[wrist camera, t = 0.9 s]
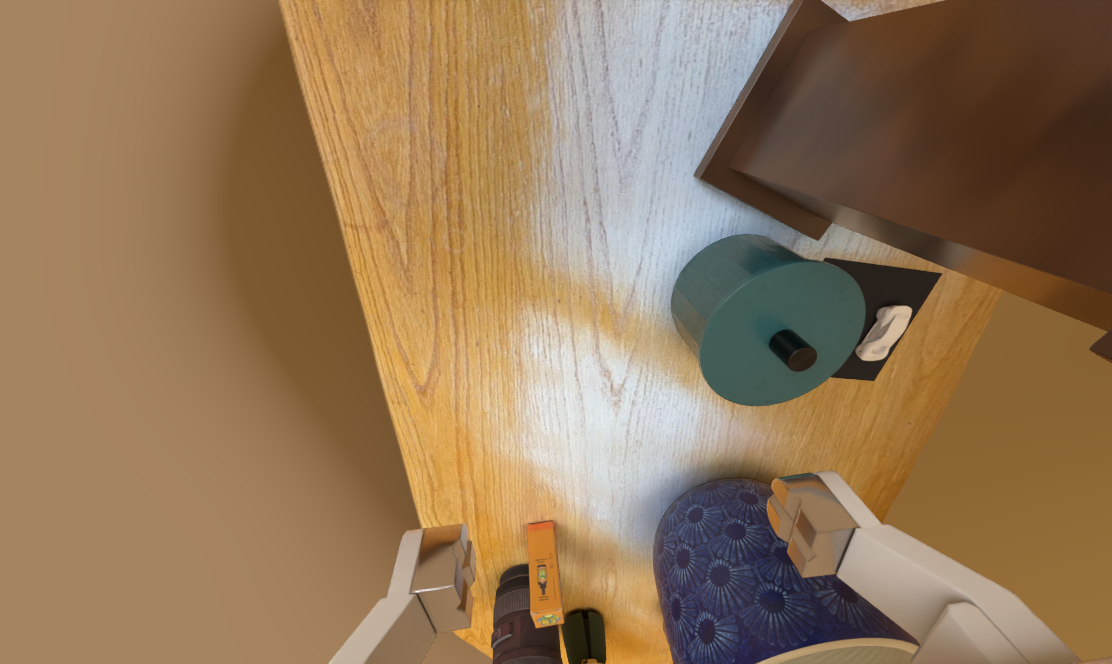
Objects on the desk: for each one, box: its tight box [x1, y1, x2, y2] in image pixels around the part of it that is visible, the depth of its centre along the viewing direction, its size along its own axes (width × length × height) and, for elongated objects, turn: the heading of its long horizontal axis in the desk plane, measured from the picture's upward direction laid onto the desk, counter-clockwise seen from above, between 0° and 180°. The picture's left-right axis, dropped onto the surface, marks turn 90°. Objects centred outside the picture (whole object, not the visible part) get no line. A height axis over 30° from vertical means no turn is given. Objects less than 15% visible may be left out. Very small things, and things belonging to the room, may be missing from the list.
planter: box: [653, 478, 920, 664], centre depth 43 cm, size 21×21×19 cm
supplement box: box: [527, 521, 564, 628], centre depth 46 cm, size 3×3×10 cm
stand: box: [694, 0, 1112, 363], centre depth 19 cm, size 12×12×26 cm
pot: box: [671, 234, 806, 359], centre depth 34 cm, size 11×11×8 cm
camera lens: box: [491, 564, 563, 664], centre depth 49 cm, size 8×8×15 cm
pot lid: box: [698, 259, 866, 406], centre depth 29 cm, size 12×12×4 cm
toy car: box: [854, 304, 913, 362], centre depth 39 cm, size 8×6×2 cm
